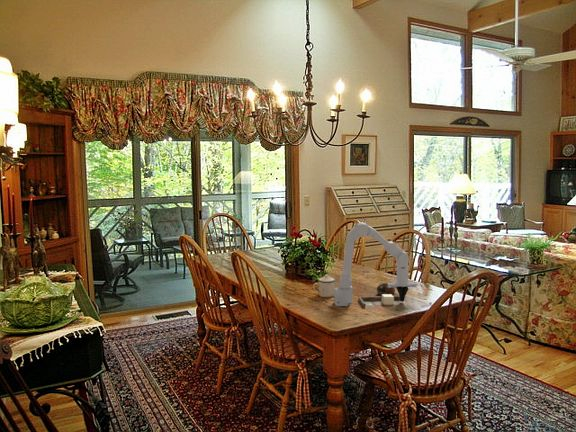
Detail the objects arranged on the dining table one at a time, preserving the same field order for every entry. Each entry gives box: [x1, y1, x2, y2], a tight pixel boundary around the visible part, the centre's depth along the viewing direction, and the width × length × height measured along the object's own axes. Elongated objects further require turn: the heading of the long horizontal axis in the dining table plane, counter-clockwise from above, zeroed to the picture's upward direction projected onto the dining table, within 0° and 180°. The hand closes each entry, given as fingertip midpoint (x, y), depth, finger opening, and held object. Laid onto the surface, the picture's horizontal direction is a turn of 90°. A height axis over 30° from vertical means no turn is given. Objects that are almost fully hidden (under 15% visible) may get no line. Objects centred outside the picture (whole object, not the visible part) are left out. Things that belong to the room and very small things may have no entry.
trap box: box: [357, 295, 411, 309], centre depth 247 cm, size 24×13×4 cm, turn 93°
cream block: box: [382, 294, 395, 306], centre depth 248 cm, size 5×5×4 cm
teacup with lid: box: [313, 274, 336, 298], centre depth 269 cm, size 12×9×12 cm
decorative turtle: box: [376, 282, 396, 296], centre depth 264 cm, size 10×15×8 cm, turn 16°
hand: (402, 300), depth 248 cm, fingers closed
